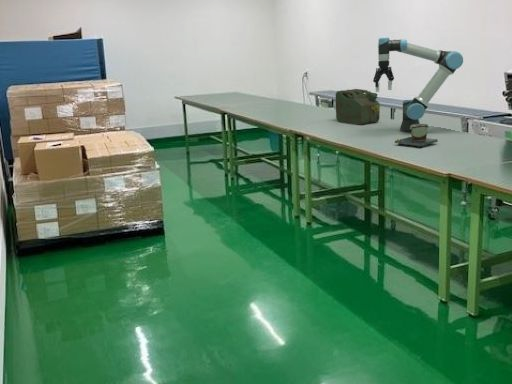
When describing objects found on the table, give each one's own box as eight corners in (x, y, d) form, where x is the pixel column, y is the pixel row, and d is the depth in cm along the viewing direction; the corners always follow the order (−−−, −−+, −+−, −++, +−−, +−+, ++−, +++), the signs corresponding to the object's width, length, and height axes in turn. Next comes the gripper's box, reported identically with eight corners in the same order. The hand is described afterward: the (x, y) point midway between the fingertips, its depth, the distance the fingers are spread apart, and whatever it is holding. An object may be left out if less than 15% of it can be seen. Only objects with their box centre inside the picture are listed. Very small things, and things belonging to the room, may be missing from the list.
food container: (423, 138, 352) (423, 123, 349) (428, 139, 346) (428, 124, 343) (406, 140, 349) (406, 124, 347) (410, 141, 343) (411, 126, 341)
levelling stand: (411, 140, 361) (411, 135, 360) (437, 144, 346) (437, 137, 345) (394, 145, 351) (394, 139, 350) (420, 148, 335) (420, 142, 334)
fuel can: (361, 125, 437) (361, 92, 430) (335, 121, 467) (335, 90, 460) (379, 122, 446) (379, 90, 439) (353, 119, 476) (352, 88, 469)
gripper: (390, 59, 386) (390, 89, 392) (367, 61, 372) (368, 92, 377) (399, 59, 380) (399, 89, 386) (376, 61, 366) (376, 92, 372)
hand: (383, 90), depth 382 cm, fingers open, 13 cm apart
